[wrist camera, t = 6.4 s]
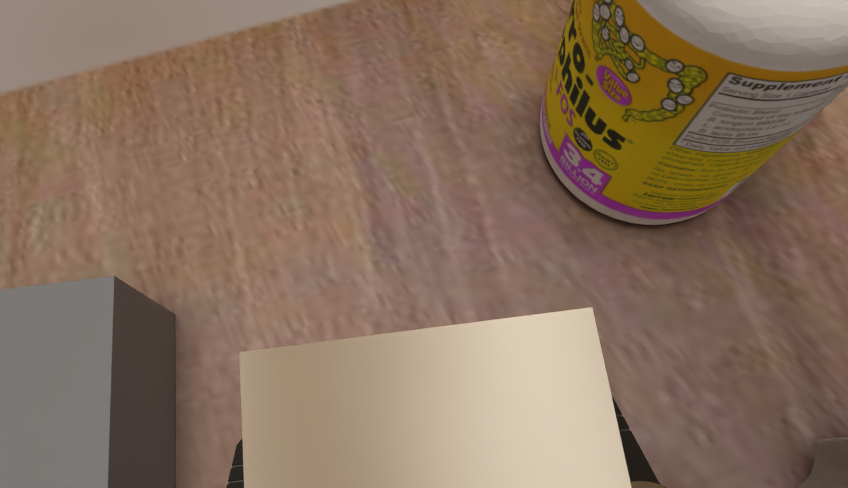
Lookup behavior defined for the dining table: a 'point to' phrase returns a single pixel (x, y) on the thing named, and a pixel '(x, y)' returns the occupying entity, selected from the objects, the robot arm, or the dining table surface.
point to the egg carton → (829, 464)
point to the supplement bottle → (684, 97)
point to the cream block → (436, 409)
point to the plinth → (86, 387)
